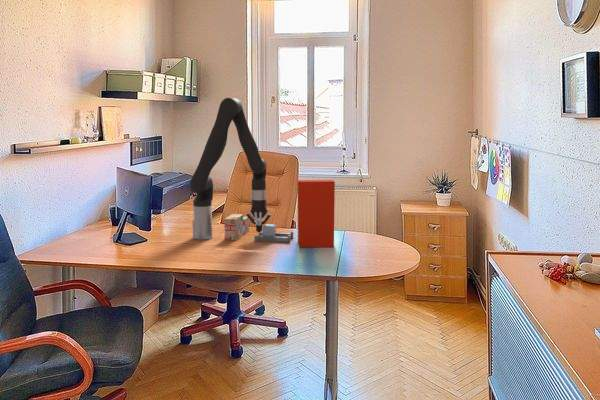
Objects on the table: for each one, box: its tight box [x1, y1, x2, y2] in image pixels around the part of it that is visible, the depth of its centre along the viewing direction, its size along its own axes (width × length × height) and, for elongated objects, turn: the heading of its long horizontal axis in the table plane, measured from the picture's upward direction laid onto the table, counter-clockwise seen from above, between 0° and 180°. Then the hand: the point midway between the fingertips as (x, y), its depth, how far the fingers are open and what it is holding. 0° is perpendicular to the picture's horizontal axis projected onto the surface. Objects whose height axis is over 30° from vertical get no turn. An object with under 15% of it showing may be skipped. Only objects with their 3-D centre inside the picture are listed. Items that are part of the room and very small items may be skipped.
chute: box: [253, 230, 294, 244], centre depth 246 cm, size 18×9×5 cm, turn 80°
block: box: [262, 223, 277, 237], centre depth 246 cm, size 6×6×7 cm
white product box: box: [224, 213, 250, 241], centre depth 255 cm, size 21×6×12 cm, turn 169°
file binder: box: [297, 179, 336, 248], centre depth 236 cm, size 8×17×32 cm, turn 93°
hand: (259, 232), depth 247 cm, fingers closed
